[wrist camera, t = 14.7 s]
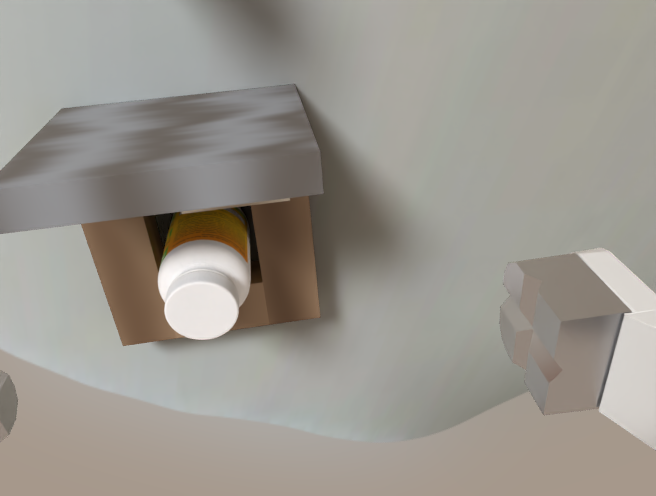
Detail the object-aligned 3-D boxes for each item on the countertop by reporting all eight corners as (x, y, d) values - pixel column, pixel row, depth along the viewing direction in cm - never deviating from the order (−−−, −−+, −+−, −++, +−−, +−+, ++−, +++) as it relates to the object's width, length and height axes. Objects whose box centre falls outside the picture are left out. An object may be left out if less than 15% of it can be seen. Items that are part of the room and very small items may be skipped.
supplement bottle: (161, 198, 36) (137, 279, 28) (241, 186, 36) (242, 263, 28) (180, 266, 39) (164, 357, 30) (255, 254, 39) (258, 341, 31)
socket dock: (294, 84, 33) (320, 151, 23) (315, 293, 42) (340, 411, 31) (61, 108, 32) (-21, 191, 22) (130, 319, 40) (94, 451, 30)
